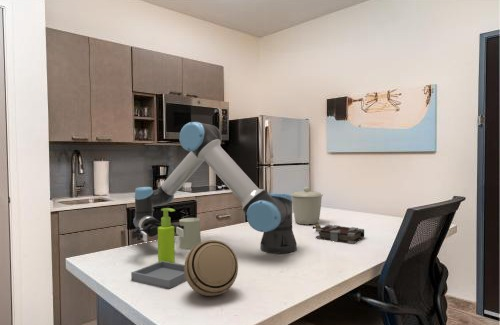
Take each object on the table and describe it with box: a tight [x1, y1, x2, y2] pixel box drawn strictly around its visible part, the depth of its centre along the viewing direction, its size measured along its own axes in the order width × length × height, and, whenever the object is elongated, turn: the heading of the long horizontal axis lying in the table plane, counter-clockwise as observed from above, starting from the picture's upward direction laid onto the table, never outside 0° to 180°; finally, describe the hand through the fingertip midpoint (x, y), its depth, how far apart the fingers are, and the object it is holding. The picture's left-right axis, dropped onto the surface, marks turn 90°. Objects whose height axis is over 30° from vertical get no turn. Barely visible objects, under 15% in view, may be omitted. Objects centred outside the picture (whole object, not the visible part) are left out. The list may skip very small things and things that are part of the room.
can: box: [178, 217, 202, 250], centre depth 150 cm, size 9×9×12 cm
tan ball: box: [183, 239, 239, 297], centre depth 97 cm, size 15×15×15 cm
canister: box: [290, 186, 324, 226], centre depth 198 cm, size 18×18×21 cm
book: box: [312, 223, 365, 245], centre depth 163 cm, size 15×25×5 cm, turn 52°
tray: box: [130, 261, 187, 290], centre depth 111 cm, size 16×14×2 cm
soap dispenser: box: [157, 207, 176, 263], centre depth 126 cm, size 6×7×20 cm
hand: (165, 235), depth 127 cm, fingers open, 13 cm apart
